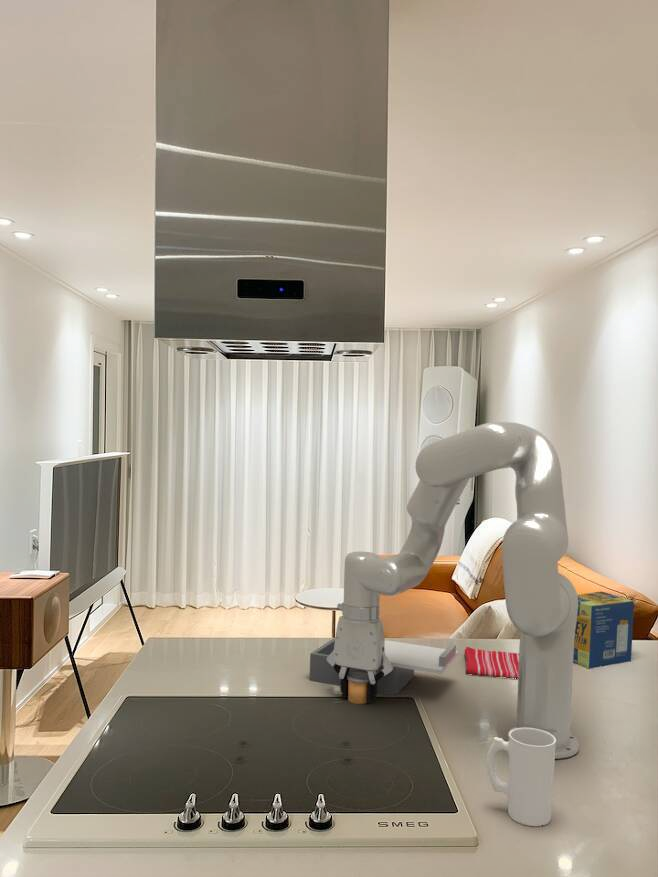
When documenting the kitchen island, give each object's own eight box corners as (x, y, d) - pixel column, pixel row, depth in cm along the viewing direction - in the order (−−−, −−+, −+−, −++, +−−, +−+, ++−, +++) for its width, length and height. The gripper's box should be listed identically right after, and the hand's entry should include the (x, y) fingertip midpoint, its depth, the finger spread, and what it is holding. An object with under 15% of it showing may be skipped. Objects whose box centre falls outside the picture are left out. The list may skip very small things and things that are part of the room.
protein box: (556, 656, 192) (558, 596, 192) (599, 649, 200) (602, 591, 199) (588, 669, 183) (590, 605, 183) (632, 661, 190) (635, 600, 190)
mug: (555, 810, 116) (558, 732, 115) (550, 832, 109) (553, 749, 109) (488, 796, 119) (491, 720, 119) (480, 816, 113) (483, 736, 113)
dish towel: (464, 655, 193) (464, 645, 193) (560, 663, 189) (561, 652, 189) (463, 677, 176) (464, 666, 176) (569, 686, 172) (570, 675, 172)
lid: (441, 674, 157) (441, 660, 157) (351, 659, 165) (351, 646, 165) (458, 654, 171) (458, 642, 171) (374, 641, 179) (374, 630, 179)
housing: (394, 695, 162) (395, 667, 162) (309, 680, 170) (310, 653, 169) (413, 675, 175) (414, 649, 174) (333, 662, 182) (334, 637, 182)
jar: (365, 706, 155) (366, 681, 155) (342, 701, 157) (343, 677, 157) (373, 698, 160) (374, 674, 160) (351, 694, 162) (352, 670, 162)
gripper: (316, 610, 158) (313, 697, 159) (394, 621, 151) (391, 712, 152) (330, 603, 165) (328, 686, 165) (405, 613, 158) (402, 699, 159)
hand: (358, 697), depth 159 cm, fingers closed on jar, 4 cm apart
